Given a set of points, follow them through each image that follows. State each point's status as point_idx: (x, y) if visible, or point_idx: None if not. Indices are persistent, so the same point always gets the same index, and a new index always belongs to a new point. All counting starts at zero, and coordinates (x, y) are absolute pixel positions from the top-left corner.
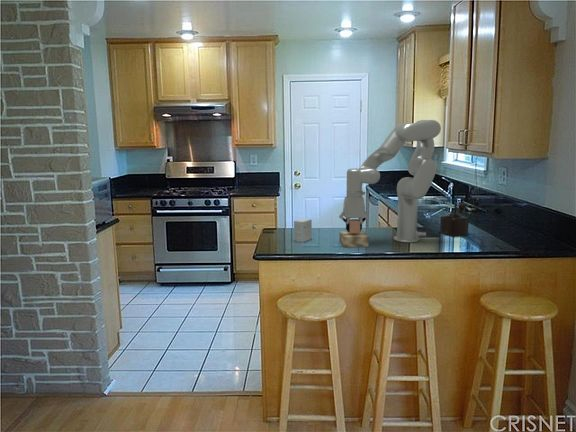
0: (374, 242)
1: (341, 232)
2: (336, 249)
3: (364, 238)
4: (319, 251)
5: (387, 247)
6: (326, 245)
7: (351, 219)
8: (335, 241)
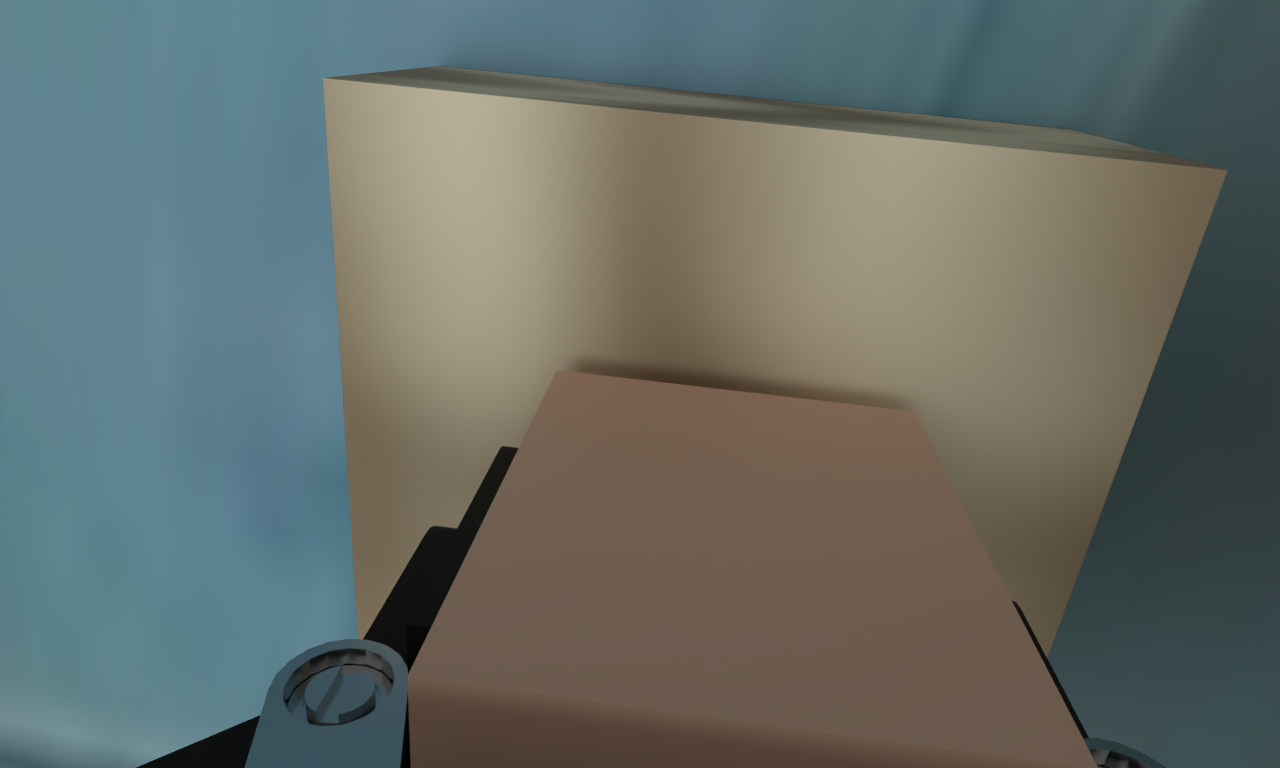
0: (1251, 366)
1: (374, 228)
2: (300, 652)
3: None
4: (23, 685)
5: (1251, 754)
6: (122, 368)
7: (623, 751)
8: (337, 53)
